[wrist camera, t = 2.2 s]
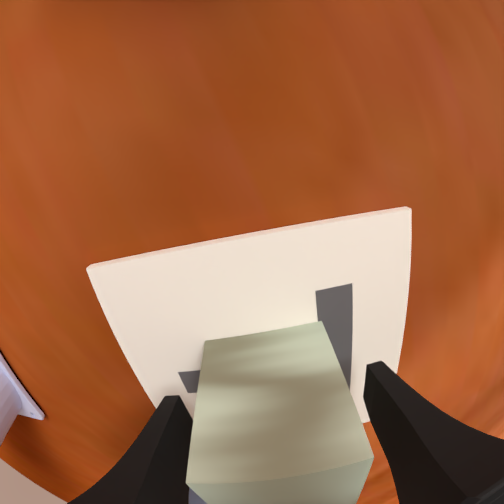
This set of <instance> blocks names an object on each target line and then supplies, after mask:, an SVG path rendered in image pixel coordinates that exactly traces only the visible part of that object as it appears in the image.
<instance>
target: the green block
mask: <svg viewBox="0 0 504 504" xmlns="http://www.w3.org/2000/svg"><path fill="white" fill-rule="evenodd" d="M373 459H374V455H373V452H372V449H371V447H370V444H369V441H368V438H367V435H366V433H365V430H364V427H363V424H362V422H361V419H360V416H359V414H358V411H357V408H356V406H355V403H354V400H353V398H352V395H351V393H350V390H349V387H348V385H347V382H346V380H345V377H344V375H343V372H342V369H341V367H340V364H339V362H338V359H337V357H336V354H335V352H334V349H333V347H332V344H331V342H330V340H329V337H328V335H327V332H326V330H325V327H324V325H323V323H322V321H318V322H314V323H309V324H304V325H299V326H294V327H288V328H283V329H278V330H272V331H266V332H260V333H254V334H248V335H242V336H235V337H228V338H221V339H214V340H207V341H205V344H204V350H203V356H202V363H201V370H200V376H199V383H198V390H197V397H196V404H195V411H194V419H193V426H192V434H191V442H190V450H189V458H188V467H187V476H186V484H187V485H188V486H189V487H190V488H191V489H192V490H193V491H194V492H195V493H196V494H197V495H198V496H199V497H200V498H202V499H203V500H204V501H205V502H206V503H207V504H356V502H357V500H358V498H359V495H360V493H361V490H362V488H363V486H364V483H365V481H366V478H367V475H368V473H369V470H370V467H371V465H372V462H373Z"/></svg>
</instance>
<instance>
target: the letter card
mask: <svg viewBox="0 0 504 504" xmlns="http://www.w3.org/2000/svg"><path fill="white" fill-rule="evenodd" d="M410 262H411V209H410V208H408V207H406V206H405V207H399V208H393V209H386V210H380V211H374V212H368V213H362V214H355V215H349V216H343V217H337V218H332V219H326V220H320V221H314V222H308V223H303V224H297V225H291V226H285V227H280V228H274V229H269V230H263V231H258V232H252V233H247V234H241V235H236V236H231V237H225V238H220V239H215V240H210V241H204V242H199V243H194V244H189V245H184V246H179V247H173V248H168V249H163V250H158V251H153V252H148V253H144V254H139V255H134V256H129V257H124V258H119V259H114V260H110V261H105V262H100V263H95V264H91V265H89V266H88V267H87V268H86V270H87V273H88V275H89V278H90V281H91V283H92V286H93V288H94V290H95V293H96V295H97V298H98V300H99V302H100V305H101V307H102V309H103V311H104V314H105V316H106V318H107V320H108V322H109V324H110V327H111V329H112V331H113V333H114V335H115V337H116V339H117V341H118V343H119V345H120V347H121V349H122V351H123V353H124V354H125V356H126V358H127V360H128V362H129V364H130V366H131V367H132V369H133V371H134V373H135V375H136V376H137V378H138V380H139V381H140V383H141V385H142V387H143V388H144V390H145V392H146V393H147V395H148V397H149V398H150V400H151V401H152V403H153V405H154V406H155V408H156V409H157V407H158V406H159V404H160V402H161V401H162V399H163V398H164V397H165V396H171V395H180V397H181V399H182V401H183V403H184V405H185V406H186V408H187V410H188V412H189V414H190V415H191V417H192V419H194V411H195V404H196V397H197V390H198V383H199V376H200V370H201V363H202V356H203V350H204V344H205V341H207V340H214V339H221V338H228V337H235V336H242V335H248V334H254V333H260V332H266V331H272V330H278V329H283V328H288V327H294V326H299V325H304V324H309V323H314V322H318V321H322V323H323V325H324V327H325V330H326V332H327V335H328V337H329V340H330V342H331V344H332V347H333V349H334V352H335V354H336V357H337V359H338V362H339V364H340V367H341V369H342V372H343V375H344V377H345V380H346V382H347V385H348V387H349V390H350V393H351V395H352V398H353V400H354V403H355V406H356V408H357V411H358V414H359V416H360V419H361V422H362V423H365V422H368V421H370V419H369V416H368V413H367V409H366V406H365V403H364V399H363V393H364V384H365V375H366V365H367V364H371V363H374V362H377V361H383V362H384V363H385V364H386V365H387V366H388V367H389V368H390V369H391V370H392V371H393V372H395V373H396V374H397V369H398V364H399V358H400V353H401V347H402V341H403V334H404V327H405V319H406V311H407V302H408V291H409V279H410Z"/></svg>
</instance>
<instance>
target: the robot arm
mask: <svg viewBox="0 0 504 504" xmlns="http://www.w3.org/2000/svg"><path fill="white" fill-rule="evenodd" d="M363 399H364V403H365V406H366V409H367V413H368V416H369V419H370V421H371V423H372V426H373V428H374V430H375V433H376V435H377V437H378V439H379V442H380V444H381V446H382V448H383V451H384V453H385V455H386V458H387V460H388V463H389V465H390V468H391V472H392V475H393V479H394V482H395V486H396V490H397V495H398V499H399V504H504V440H503V439H500V438H497V437H494V436H491V435H488V434H485V433H483V432H481V431H478V430H476V429H474V428H472V427H469V426H467V425H465V424H463V423H462V422H460V421H458V420H456V419H454V418H453V417H451V416H449V415H448V414H446V413H444V412H443V411H441V410H440V409H438V408H437V407H436V406H434V405H433V404H432V403H430V402H429V401H427V400H426V399H425V398H424V397H422V396H421V395H420V394H419V393H417V392H416V391H415V390H414V389H413V388H411V387H410V386H409V385H408V384H407V383H406V382H404V381H403V380H402V379H401V378H400V377H399V376H398V375H397V374H396V373H395V372H393V371H392V370H391V369H390V368H389V367H388V366H387V365H386V364H385V363H384V362H383V361H377V362H374V363H371V364H367V365H366V375H365V384H364V393H363ZM18 414H19V415H23V416H27V417H31V418H35V419H39V420H43V419H44V417H45V415H44V413H43V412H42V411H41V409H40V408H39V407H38V406H37V405H36V403H35V402H34V401H33V399H32V398H31V397H30V396H29V394H28V393H27V392H26V390H25V389H24V388H23V386H22V385H21V383H20V382H19V381H18V379H17V378H16V376H15V375H14V373H13V372H12V370H11V369H10V367H9V366H8V364H7V363H6V361H5V360H4V358H3V356H2V355H1V353H0V446H1V444H2V442H3V440H4V438H5V436H6V434H7V433H8V431H9V429H10V427H11V425H12V424H13V422H14V420H15V418H16V417H17V415H18ZM192 426H193V419H192V417H191V415H190V414H189V412H188V410H187V408H186V406H185V405H184V403H183V401H182V399H181V397H180V395H171V396H165V397H164V398H163V399H162V401H161V402H160V404H159V406H158V407H157V409H156V410H155V412H154V413H153V415H152V417H151V418H150V420H149V421H148V423H147V424H146V426H145V427H144V429H143V430H142V432H141V433H140V434H139V436H138V437H137V439H136V440H135V441H134V443H133V444H132V445H131V447H130V448H129V449H128V450H127V452H126V453H125V454H124V456H123V457H122V458H121V459H120V460H119V461H118V462H117V464H116V465H115V466H114V467H113V468H112V469H111V470H110V471H109V472H108V473H107V474H106V475H105V476H104V477H103V478H101V479H100V480H99V481H98V482H97V483H96V484H95V485H93V486H92V487H91V488H90V489H88V490H87V491H85V492H84V493H83V494H81V495H80V496H79V497H77V498H76V499H74V500H72V501H71V502H69V503H67V504H189V488H190V487H189V486H188V485H187V484H186V476H187V467H188V458H189V450H190V442H191V434H192Z"/></svg>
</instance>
